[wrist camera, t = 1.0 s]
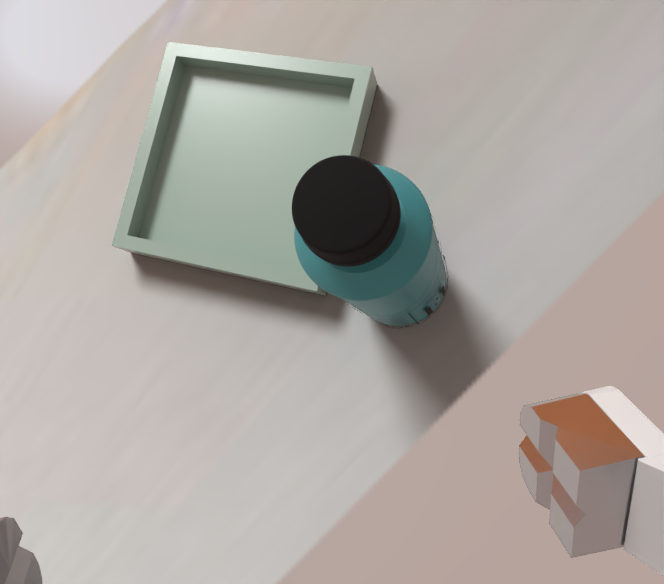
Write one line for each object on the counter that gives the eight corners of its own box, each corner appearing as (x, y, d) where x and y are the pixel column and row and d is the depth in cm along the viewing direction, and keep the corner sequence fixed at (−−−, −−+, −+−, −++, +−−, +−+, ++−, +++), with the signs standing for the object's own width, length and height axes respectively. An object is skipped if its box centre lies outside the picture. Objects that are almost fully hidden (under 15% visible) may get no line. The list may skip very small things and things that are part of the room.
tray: (183, 58, 48) (168, 42, 45) (377, 83, 44) (372, 66, 41) (130, 252, 46) (111, 245, 44) (325, 296, 42) (316, 291, 40)
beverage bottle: (439, 338, 40) (413, 305, 21) (345, 320, 42) (239, 273, 22) (457, 245, 41) (447, 127, 21) (363, 230, 42) (275, 109, 23)
